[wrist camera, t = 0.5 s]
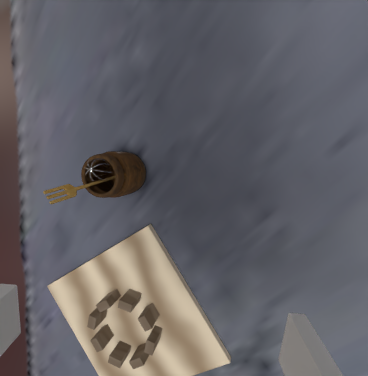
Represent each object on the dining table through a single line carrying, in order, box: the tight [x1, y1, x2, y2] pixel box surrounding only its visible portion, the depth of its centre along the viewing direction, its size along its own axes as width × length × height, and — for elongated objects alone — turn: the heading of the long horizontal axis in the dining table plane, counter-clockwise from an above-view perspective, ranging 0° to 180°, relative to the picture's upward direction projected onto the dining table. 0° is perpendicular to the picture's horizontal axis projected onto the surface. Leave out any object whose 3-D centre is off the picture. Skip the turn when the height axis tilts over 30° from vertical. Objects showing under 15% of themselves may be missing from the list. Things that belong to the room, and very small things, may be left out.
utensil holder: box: [43, 151, 146, 204], centre depth 28 cm, size 6×6×12 cm
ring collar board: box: [47, 224, 231, 376], centre depth 35 cm, size 22×22×4 cm
